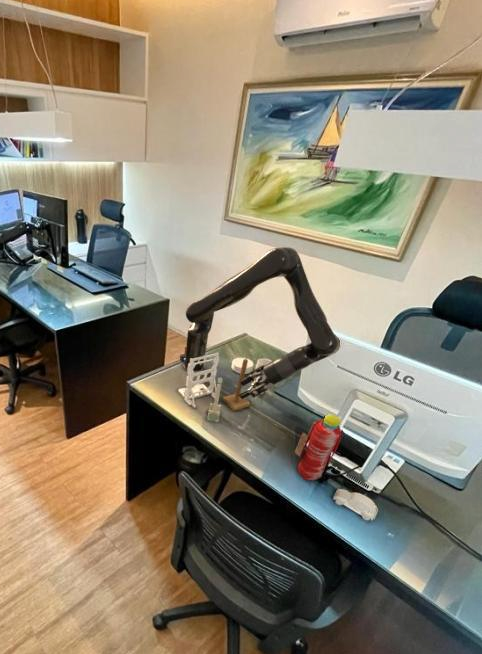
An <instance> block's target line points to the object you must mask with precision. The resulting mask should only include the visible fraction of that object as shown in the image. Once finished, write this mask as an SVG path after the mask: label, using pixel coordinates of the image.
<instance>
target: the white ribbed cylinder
mask: <svg viewBox="0 0 482 654" xmlns="http://www.w3.org/2000/svg"><path fill="white" fill-rule="evenodd" d="M244 359H247V360H248V363H247V367H246V372H245V375H250V372H251V371H253V370H254V367H255V365H254V362H253V361H252V360H251V359H249V358H246V357H236V358H234V359H232V361H231V369H232V371H233V372H235V373H237V374H240V373H241V368H242V364H243V360H244Z"/></svg>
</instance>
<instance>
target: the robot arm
mask: <svg viewBox="0 0 482 654" xmlns="http://www.w3.org/2000/svg"><path fill="white" fill-rule="evenodd" d="M275 278H284V279H285V281H286V282H287V284H288V285H289V287H290V289H291V292H292V298H293V305H294V309H295V312H296V315H297V316H298V318H299V320H300V322H301V324H302V326H303V327H304V329H305V330H306V332H307V336H308V338H309V340H310V342H309V343H308V344H305V345H302V346H299V347H296V348H295V349H294V350H292V351H290V352H288V353H286V354H283V355H281V356H279V357H277V358H275V359H273V360H271V361H272V362H270V363H268V364H266V365H265V366H264V365H263V366H261V367H259V368H257V369H255V368H254V369H253V371H251V372H250V373H249V374H248V376H246V377H244V379H243V380H241V381H240V383H241V384H242V387H245V386H247V385H248V384H250V383H251V384H250V386H249V388H248V389H246V390H243V391H241V393H240V394H239V396H240V398H241V399H243V398H245V399H246V398H247V397H249V396H251V398H253V399H254V398H256V397H257V396H260V395H262V394H261V393H263V392H264V393H265V392H267V391H268V389H269V388H268V387H267V385H269V384H272V385H276V384H279V383H281V382H282V381H285V380H286V379H288V378H290V377H292V376H293V375H295V374H296V373H298V372H300V371H303V370H304V369H306V368H308V367H309V366H311V365H313V364H314V363H316V362H320V361H322V360H324V359H326V358H328V357H330V356H332V355H334V354H336V353H338V351H339V350H340V349H341V346H340V340H341V339H340V340H339V338H340V337H339V336H338V335H337V334H335V333H334V331H333V330H332V329H333V328H332V327H331V326H330V324H329V322H328V318H327V316H326V314H325V312H324V310H323V308H322V306H321V305H320V303H319V301H318V300H317V298H316V296H315V293H314V292H313V289H312V287H311V284H310V282H309V279H308V276H307V274H306V271H305V268H304V265H303V263H302V260H301V257H300V255H299V253H298V251H297V250H296V249H294V248H293V247H290V246H288V247H287V246H286V247H274V248H272V249H270V250H268V251H267V252H265V253H264V254H263V255H262V256H261V257H259V258H258V259H257V260H256V261H255V262H254V263H252V264H251V265H250V266H248V267H247V268H245V269H243V270H241V271H239V272H237V273H236V274H235V275H233V276H231V277H230V278H228V279H226V280H225V281H223V282H222V283H221V284H220V285H219V286H216V287H215V288H214V289H213V290H212V291H210V292H209V293H207V294H206V295H205V296H203V297H201V298H199V299H197V300H195V301H193V302H191V303H190V304H188V305H187V307H186V309H185V317H186V319H187V320H188V322H190V323H191V325H190V326H189V327H188V329H187V333H186V334H187V336H186V344H185V345H186V346H185V347H184V353H182V354H180V356H179V361H180V362H182V364H183V368H184V370H185V371H187V369H188V364H189V363H190V358H191V359H194V358H198V357H202V356H206V353H207V345H208V340H209V339H208V338H209V333H210V332H211V330H212V326H213V322H214V315H215V312H217V311H221V310H223V309H226V308H229V307H231V306H233V305H235V304H237V303H239V302H241V301H242V300H244V299H246V298H247V297H248V296H249V295H251V293H252V292H253V291H254V290H255V288H257V286H259V285H261V284H263V283H265V282H268V281H269V280H273V279H275ZM336 335H337V336H338V337H339V338H338V337H337V336H336ZM339 348H340V349H339ZM198 361H199V360H196V361H194V363H197V362H198ZM201 361H204V359H201V360H200V361H199V362H201ZM205 363H206V362H204V363H200V364H196V365H195V367H194V369H193V371H194V373H197V372H201V371H204V367H205V366H204V365H205ZM255 372H257V373H255ZM253 381H254V382H253ZM255 385H256V386H257V387H256V386H255ZM253 388H254V389H253ZM256 392H257V393H256ZM264 393H263V394H264Z"/></svg>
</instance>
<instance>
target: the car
mask: <svg viewBox="0 0 482 654" xmlns="http://www.w3.org/2000/svg"><path fill="white" fill-rule="evenodd" d="M332 500H335V504H336V505H338V506H345V507H346V508H348V509H350V510H351V511H353V512H355V513H356V514H358V515H360V516H361V517H362V519H363V520H364V521H373V520H375V519H376V517H377V514H378V512H379V508H378V507H377V505H376V504H375V502H374V501H373V500H372V499H371V498H370V497H368V496H366V495H364V494H362V493H360V492H350V491H348V490H346V489H343V488H338V489H337V490H336V492H335V494H334V495H333V499H332Z"/></svg>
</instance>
